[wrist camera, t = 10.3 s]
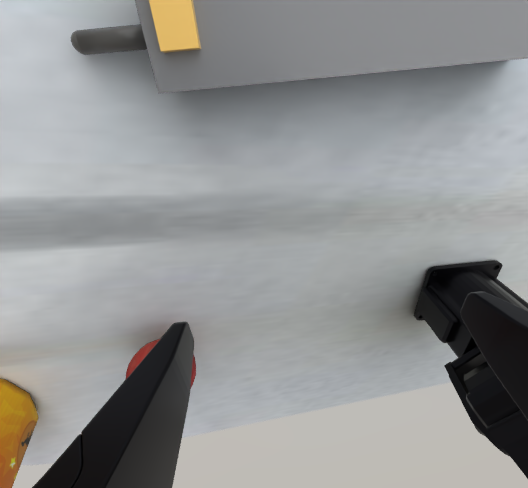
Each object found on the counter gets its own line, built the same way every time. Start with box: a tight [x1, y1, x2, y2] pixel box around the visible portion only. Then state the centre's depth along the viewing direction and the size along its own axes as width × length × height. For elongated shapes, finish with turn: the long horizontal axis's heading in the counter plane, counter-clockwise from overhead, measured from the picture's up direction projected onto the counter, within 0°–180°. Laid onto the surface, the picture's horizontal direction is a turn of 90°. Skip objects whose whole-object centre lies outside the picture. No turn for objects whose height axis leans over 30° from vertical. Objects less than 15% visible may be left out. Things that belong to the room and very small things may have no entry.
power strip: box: [71, 0, 528, 93], centre depth 12 cm, size 24×5×5 cm, turn 95°
